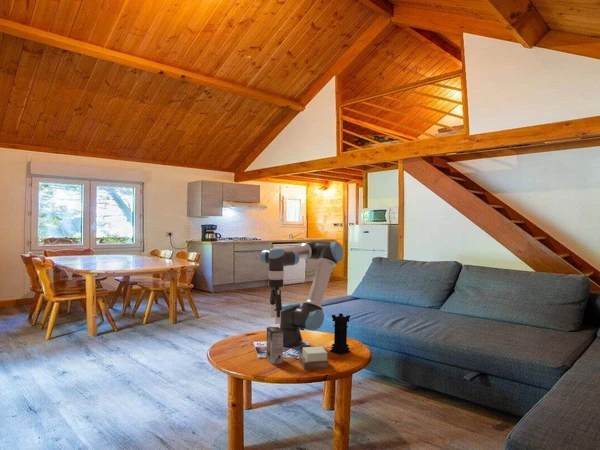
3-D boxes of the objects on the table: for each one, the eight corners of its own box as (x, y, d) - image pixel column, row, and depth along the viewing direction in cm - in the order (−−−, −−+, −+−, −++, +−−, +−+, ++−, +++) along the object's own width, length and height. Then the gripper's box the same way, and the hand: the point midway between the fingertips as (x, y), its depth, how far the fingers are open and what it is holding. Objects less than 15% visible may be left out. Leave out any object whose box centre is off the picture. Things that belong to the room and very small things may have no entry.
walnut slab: (298, 362, 208) (298, 354, 208) (321, 361, 211) (321, 353, 211) (304, 371, 196) (304, 362, 196) (328, 369, 199) (328, 361, 199)
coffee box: (265, 358, 212) (266, 327, 212) (277, 357, 214) (278, 326, 214) (270, 364, 203) (271, 331, 203) (283, 362, 206) (283, 330, 205)
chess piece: (340, 355, 219) (341, 317, 219) (329, 351, 225) (330, 315, 225) (350, 352, 224) (351, 315, 224) (340, 348, 230) (340, 313, 230)
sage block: (302, 355, 207) (302, 347, 207) (321, 354, 209) (321, 346, 209) (307, 362, 197) (307, 353, 197) (327, 360, 200) (327, 352, 199)
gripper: (264, 275, 219) (264, 314, 220) (273, 282, 195) (272, 326, 195) (278, 275, 221) (277, 314, 221) (288, 282, 197) (287, 326, 197)
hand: (275, 320), depth 208 cm, fingers open, 13 cm apart
